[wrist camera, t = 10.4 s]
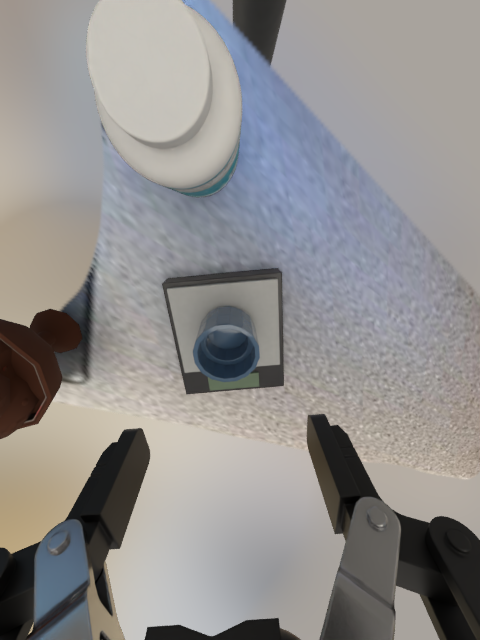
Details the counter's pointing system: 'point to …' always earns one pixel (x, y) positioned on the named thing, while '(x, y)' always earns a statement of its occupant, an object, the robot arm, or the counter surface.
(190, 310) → the kitchen scale
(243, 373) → the blue cup
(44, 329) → the ice cream bowl
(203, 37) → the pill bottle
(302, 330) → the counter surface
